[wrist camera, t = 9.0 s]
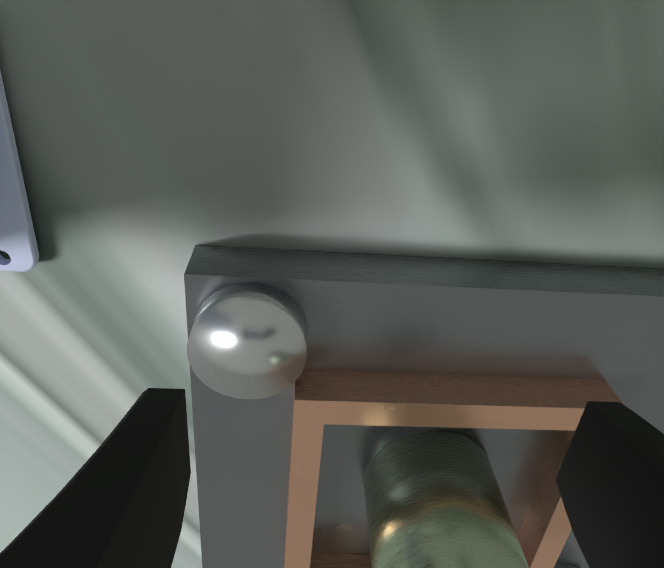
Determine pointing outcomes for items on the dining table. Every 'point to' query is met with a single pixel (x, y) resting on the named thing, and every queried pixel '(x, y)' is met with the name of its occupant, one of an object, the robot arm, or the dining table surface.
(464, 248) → the dining table surface
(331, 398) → the grey square slab
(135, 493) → the robot arm
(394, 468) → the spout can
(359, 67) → the dining table surface
